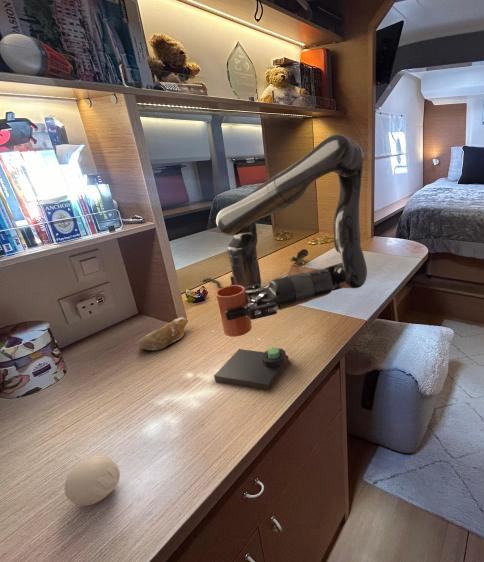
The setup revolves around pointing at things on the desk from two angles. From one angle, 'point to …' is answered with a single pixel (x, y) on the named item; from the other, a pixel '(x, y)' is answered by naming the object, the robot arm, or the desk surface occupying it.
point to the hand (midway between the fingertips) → (222, 309)
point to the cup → (229, 300)
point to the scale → (252, 369)
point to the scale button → (273, 353)
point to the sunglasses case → (299, 270)
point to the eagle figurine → (299, 257)
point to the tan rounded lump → (91, 480)
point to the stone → (163, 335)
